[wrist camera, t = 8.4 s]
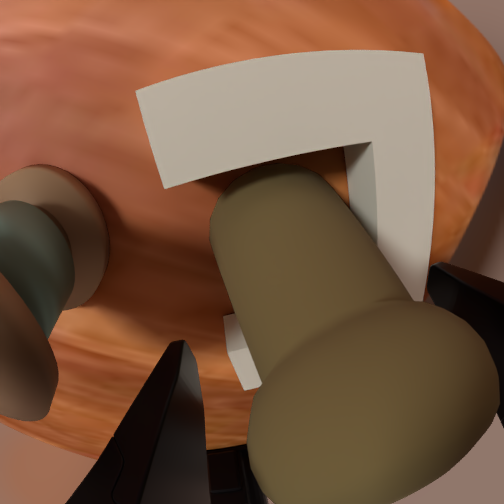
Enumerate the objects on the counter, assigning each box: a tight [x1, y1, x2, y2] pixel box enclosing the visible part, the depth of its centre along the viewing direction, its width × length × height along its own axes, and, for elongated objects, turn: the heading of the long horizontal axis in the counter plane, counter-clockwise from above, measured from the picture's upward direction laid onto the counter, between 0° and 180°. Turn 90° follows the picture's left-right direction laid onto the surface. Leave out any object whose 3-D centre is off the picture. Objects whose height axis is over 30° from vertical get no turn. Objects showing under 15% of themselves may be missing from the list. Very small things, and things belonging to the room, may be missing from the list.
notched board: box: [136, 50, 435, 391], centre depth 12 cm, size 14×10×2 cm
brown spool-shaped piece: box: [0, 164, 110, 421], centre depth 8 cm, size 7×7×8 cm
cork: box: [209, 163, 500, 504], centre depth 8 cm, size 6×6×11 cm
